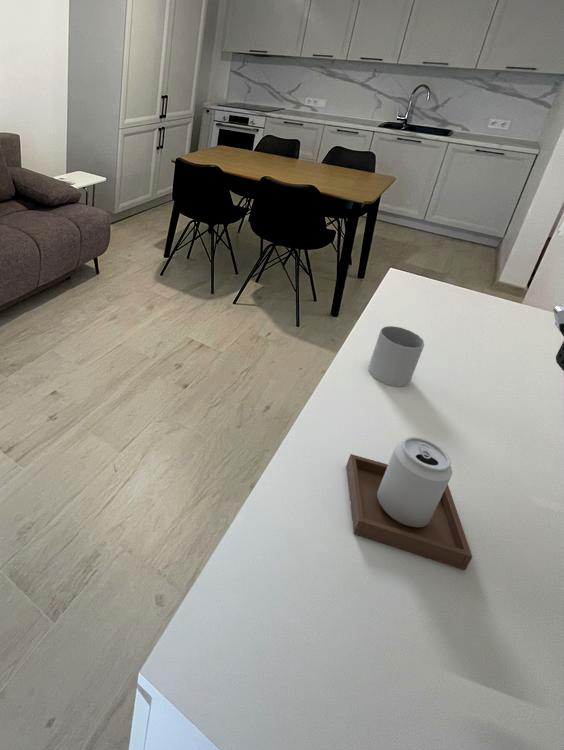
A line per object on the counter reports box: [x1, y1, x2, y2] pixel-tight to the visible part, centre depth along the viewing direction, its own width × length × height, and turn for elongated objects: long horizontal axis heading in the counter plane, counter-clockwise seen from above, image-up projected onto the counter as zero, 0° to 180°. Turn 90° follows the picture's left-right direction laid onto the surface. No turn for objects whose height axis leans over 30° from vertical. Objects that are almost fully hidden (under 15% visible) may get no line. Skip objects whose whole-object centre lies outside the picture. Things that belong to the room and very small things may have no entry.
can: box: [377, 436, 453, 527], centre depth 75 cm, size 8×8×12 cm
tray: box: [345, 453, 473, 571], centre depth 77 cm, size 15×14×3 cm
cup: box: [367, 325, 425, 388], centre depth 108 cm, size 8×8×10 cm
